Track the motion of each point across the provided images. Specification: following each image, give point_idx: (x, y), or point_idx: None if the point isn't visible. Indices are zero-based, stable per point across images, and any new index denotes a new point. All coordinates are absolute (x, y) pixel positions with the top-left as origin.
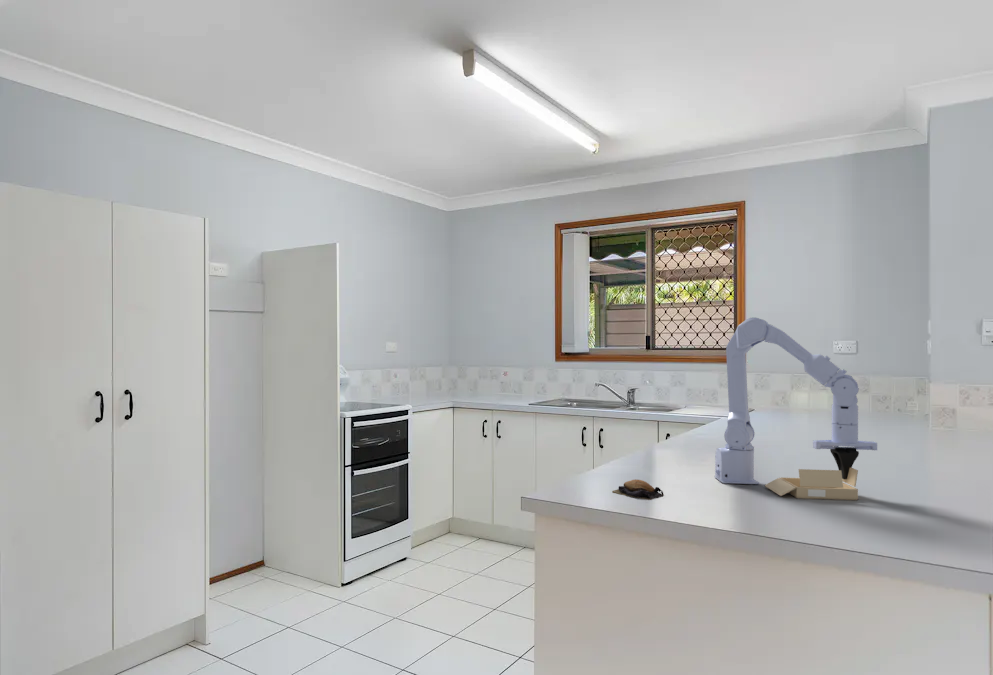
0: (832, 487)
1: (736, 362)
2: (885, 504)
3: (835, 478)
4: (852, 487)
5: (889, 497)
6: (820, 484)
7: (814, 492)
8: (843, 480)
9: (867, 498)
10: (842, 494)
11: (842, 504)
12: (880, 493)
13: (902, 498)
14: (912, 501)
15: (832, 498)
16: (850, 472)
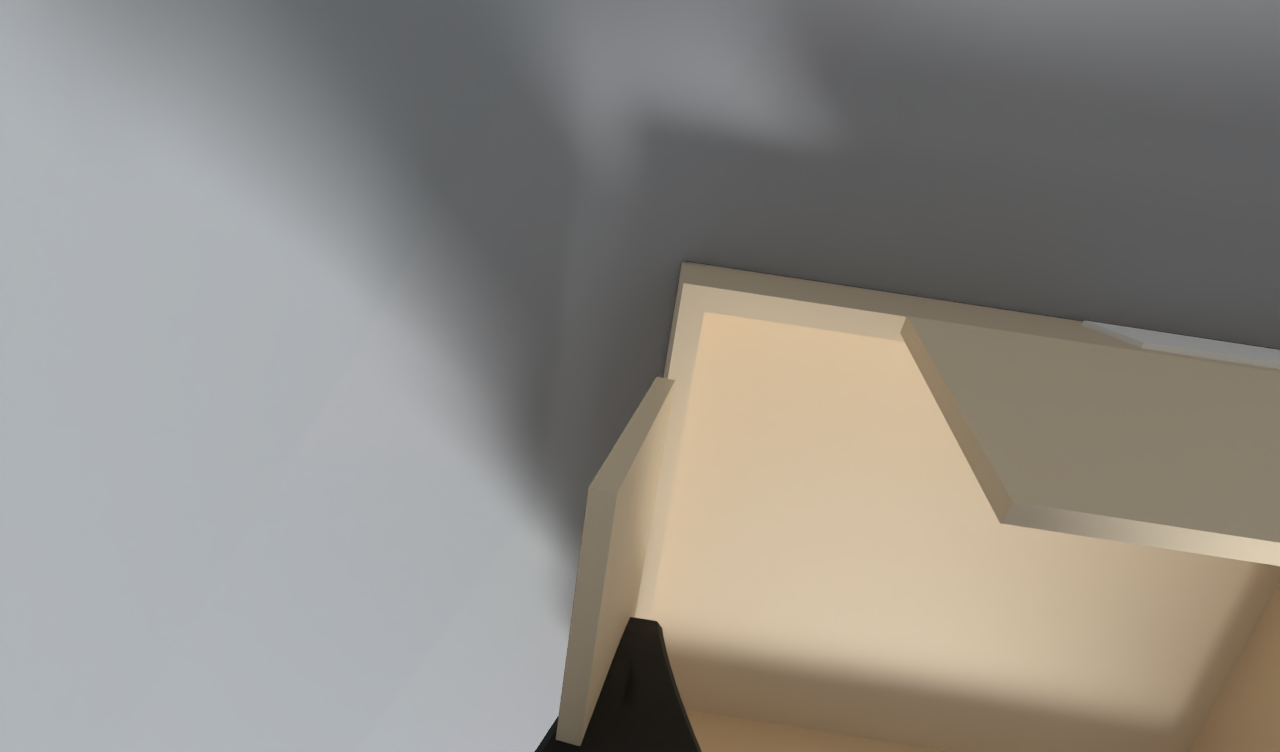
0: None
1: None
2: (458, 51)
3: (1076, 409)
4: (687, 393)
5: (221, 383)
6: (1273, 389)
7: (1263, 355)
8: None
9: (502, 347)
10: (881, 299)
11: (1043, 54)
12: (229, 543)
13: (97, 337)
14: (46, 199)
15: (981, 309)
16: (613, 632)
